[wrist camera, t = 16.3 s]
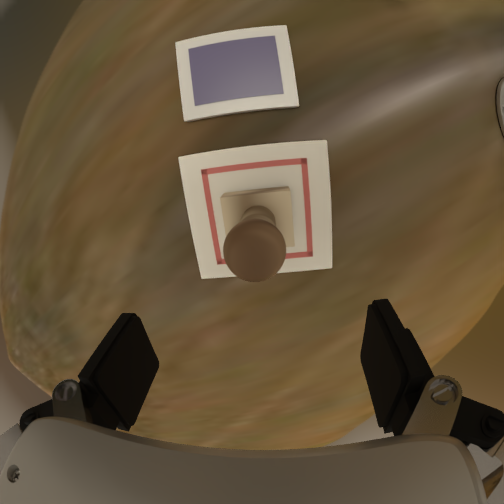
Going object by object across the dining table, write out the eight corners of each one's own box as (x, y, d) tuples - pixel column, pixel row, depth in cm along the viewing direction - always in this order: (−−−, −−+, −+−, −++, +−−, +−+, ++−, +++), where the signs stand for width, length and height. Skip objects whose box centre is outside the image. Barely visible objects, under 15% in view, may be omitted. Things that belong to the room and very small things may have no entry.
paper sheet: (326, 140, 25) (327, 140, 24) (331, 266, 30) (332, 268, 30) (179, 156, 26) (177, 157, 26) (202, 277, 32) (201, 279, 31)
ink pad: (285, 30, 20) (286, 24, 19) (297, 107, 24) (299, 105, 22) (179, 46, 21) (174, 41, 20) (188, 121, 25) (183, 121, 23)
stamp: (288, 185, 27) (301, 217, 16) (292, 235, 29) (305, 296, 18) (224, 191, 27) (195, 228, 16) (232, 241, 29) (211, 302, 18)
